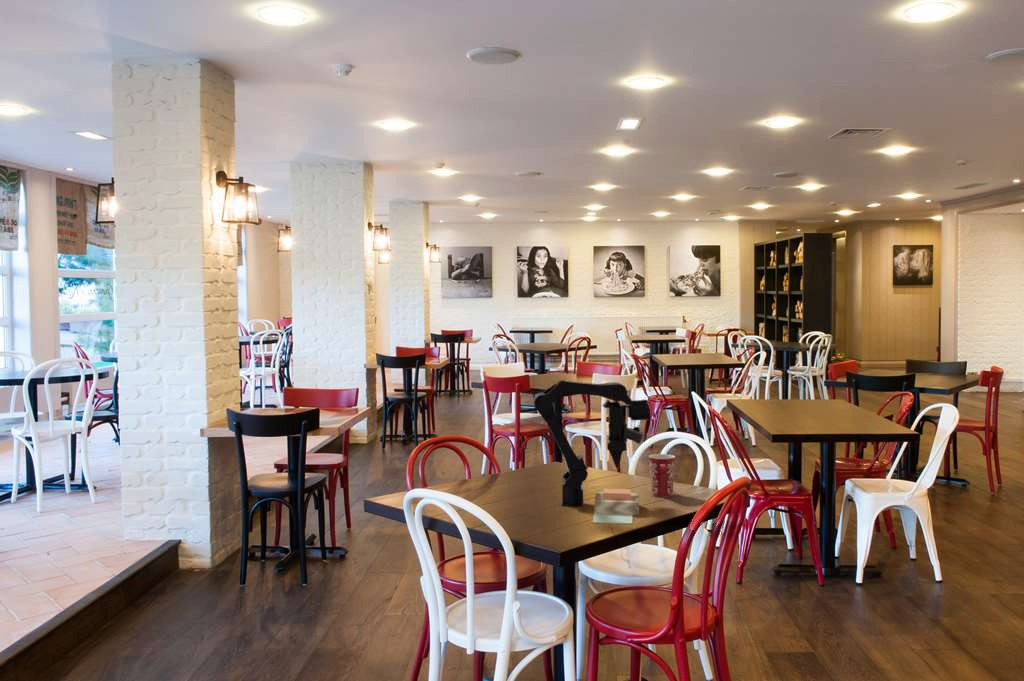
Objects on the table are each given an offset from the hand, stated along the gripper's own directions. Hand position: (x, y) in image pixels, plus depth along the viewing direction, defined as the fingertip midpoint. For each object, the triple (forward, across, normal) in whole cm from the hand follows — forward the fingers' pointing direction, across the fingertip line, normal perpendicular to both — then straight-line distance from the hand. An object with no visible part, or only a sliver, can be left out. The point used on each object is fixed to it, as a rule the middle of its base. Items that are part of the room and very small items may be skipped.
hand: (617, 467), depth 280 cm
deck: (+12, -9, 0) cm, 15 cm away
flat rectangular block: (+8, -9, 0) cm, 12 cm away
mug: (+12, +11, -15) cm, 22 cm away
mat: (+12, -20, +1) cm, 24 cm away
